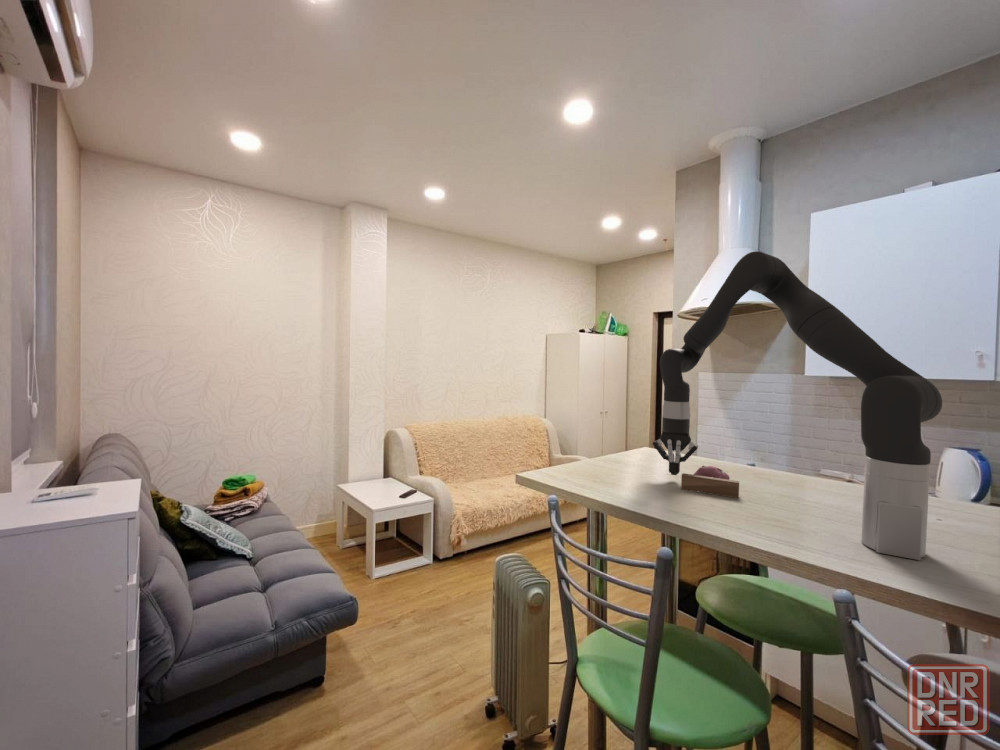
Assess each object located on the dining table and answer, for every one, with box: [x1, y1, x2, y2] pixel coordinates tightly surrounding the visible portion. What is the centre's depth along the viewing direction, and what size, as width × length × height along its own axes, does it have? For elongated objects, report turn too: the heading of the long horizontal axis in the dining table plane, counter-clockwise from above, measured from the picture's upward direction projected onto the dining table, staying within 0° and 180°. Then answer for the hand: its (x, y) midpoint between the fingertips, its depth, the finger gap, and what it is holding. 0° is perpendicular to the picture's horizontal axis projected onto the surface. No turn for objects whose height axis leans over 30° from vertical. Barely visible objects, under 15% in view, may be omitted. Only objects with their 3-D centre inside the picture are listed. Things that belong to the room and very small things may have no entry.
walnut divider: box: [680, 472, 740, 499], centre depth 119 cm, size 2×14×4 cm, turn 59°
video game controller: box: [692, 465, 731, 480], centre depth 125 cm, size 10×5×7 cm, turn 22°
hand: (674, 474), depth 130 cm, fingers closed
